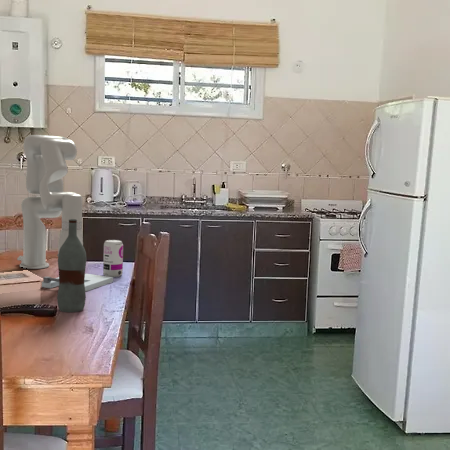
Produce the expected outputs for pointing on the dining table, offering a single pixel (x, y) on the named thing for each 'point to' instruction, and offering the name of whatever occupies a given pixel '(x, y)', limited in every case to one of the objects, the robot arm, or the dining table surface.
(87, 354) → the dining table surface
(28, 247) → the robot arm
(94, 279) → the shelf board
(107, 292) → the dining table surface
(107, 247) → the supplement can
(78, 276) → the bottle
